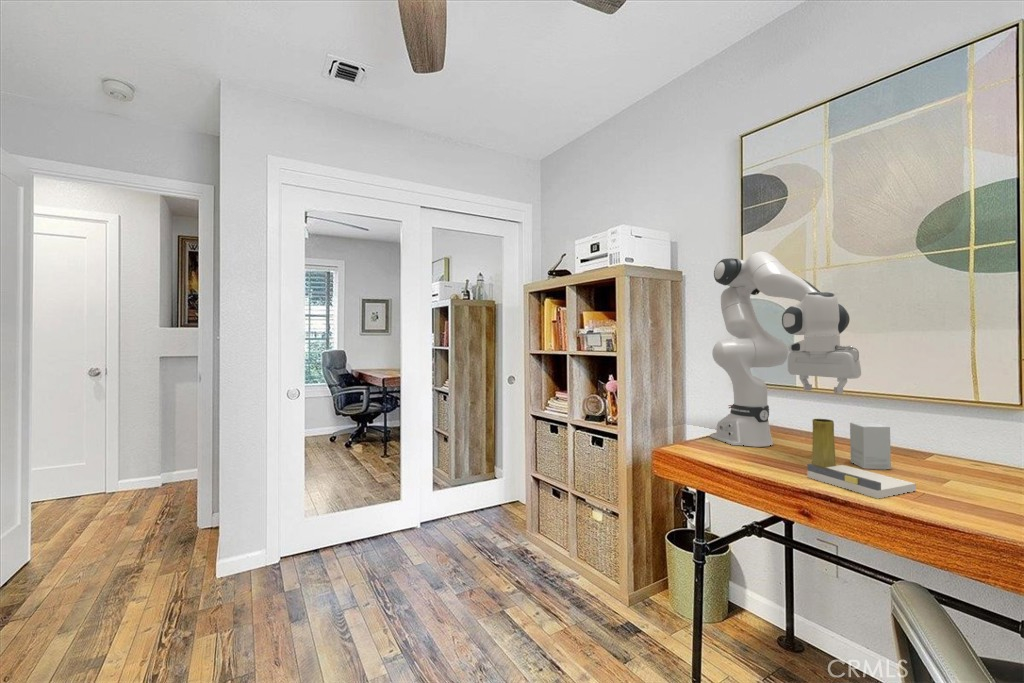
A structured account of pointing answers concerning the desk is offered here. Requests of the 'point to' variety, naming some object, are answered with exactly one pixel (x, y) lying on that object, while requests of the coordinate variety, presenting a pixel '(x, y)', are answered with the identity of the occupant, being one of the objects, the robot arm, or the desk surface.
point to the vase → (823, 443)
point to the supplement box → (870, 445)
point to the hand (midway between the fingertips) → (822, 391)
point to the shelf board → (860, 480)
